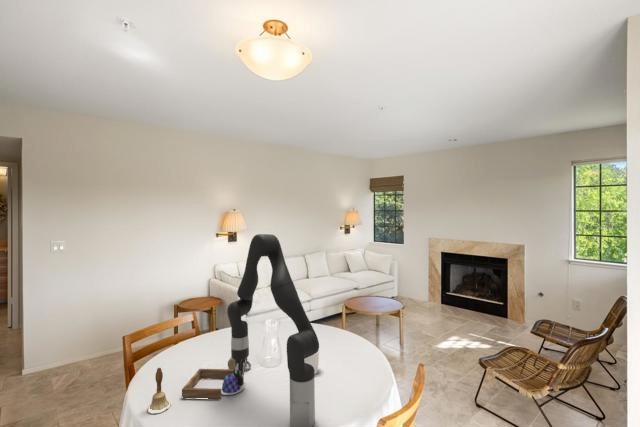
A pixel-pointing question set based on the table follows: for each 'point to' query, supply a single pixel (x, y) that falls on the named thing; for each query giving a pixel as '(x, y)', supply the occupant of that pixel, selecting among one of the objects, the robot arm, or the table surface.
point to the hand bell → (159, 394)
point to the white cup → (313, 361)
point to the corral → (205, 392)
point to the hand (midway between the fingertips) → (240, 384)
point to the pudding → (230, 385)
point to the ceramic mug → (232, 364)
